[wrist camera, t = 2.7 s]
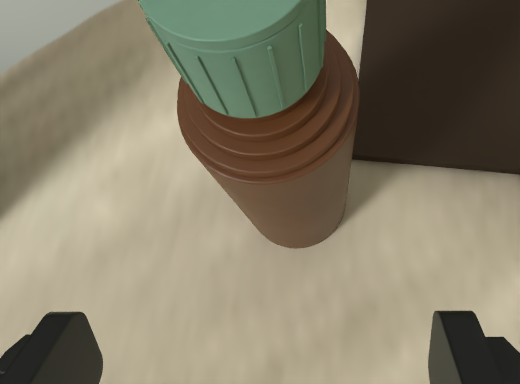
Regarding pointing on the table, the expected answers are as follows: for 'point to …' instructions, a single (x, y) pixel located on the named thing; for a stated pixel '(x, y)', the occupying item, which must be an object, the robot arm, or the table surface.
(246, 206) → the bottle
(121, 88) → the table surface
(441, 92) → the coaster
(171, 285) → the table surface
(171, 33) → the cap
